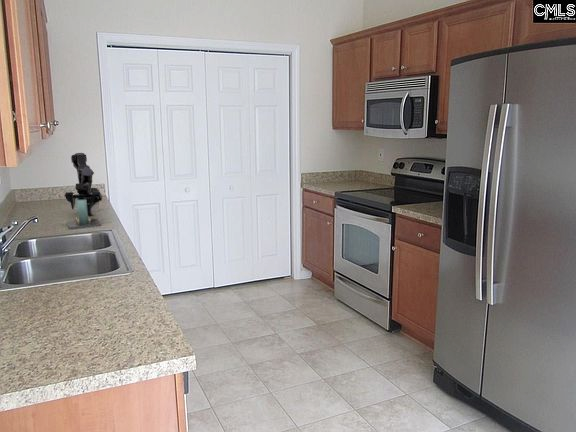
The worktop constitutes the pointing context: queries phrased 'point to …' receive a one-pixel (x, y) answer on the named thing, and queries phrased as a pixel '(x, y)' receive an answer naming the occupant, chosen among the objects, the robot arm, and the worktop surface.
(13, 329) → the worktop surface
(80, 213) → the post
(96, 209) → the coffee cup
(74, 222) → the metal base plate
